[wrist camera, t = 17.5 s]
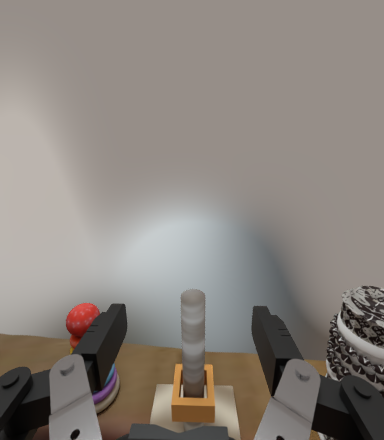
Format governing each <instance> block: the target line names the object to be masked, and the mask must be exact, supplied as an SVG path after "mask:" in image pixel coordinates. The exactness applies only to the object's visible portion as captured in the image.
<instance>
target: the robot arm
mask: <svg viewBox="0 0 384 440" xmlns="http://www.w3.org/2000/svg"><path fill="white" fill-rule="evenodd" d="M126 332H127V317H126V307H125V304H111V306H110V307H109V309H108V310H107V312H102V313H101V314H100V315H98V316H97V317H96V318H95V319H94V320H93V322H92V323H91V325H90V327H89V328H88V329H87V331H86V333H85V334H84V335H83V337H82V338H81V340H80V341H79V343H78V344H77V346H76V347H75V349H74V350H73V352H72V353H71V355H68V356H66V357H64V358H62V359H60V360H59V361H58V362H57V363H56V364H55V365H54V366H53V367H52V369H49V370H46V371H42V372H38V373H35V374H31V371H30V369H29V368H27V367H18V368H15V369H12V370H10V371H8V372H7V373H5V374H4V375H2V376H1V377H0V440H32V438H33V436H34V434H35V433H36V431H37V429H38V428H39V427H42V426H45V425H48V424H49V435H50V440H102V437H101V433H100V428H99V424H98V419H97V415H96V411H95V406H94V402H93V398H92V395H93V392H94V391H102V390H103V387H104V385H105V383H106V380H107V378H108V376H109V373H110V371H111V369H112V366H113V364H114V361H115V359H116V357H117V354H118V352H119V350H120V347H121V345H122V343H123V340H124V338H125V335H126ZM252 336H253V340H254V343H255V346H256V350H257V352H258V356H259V359H260V362H261V366H262V369H263V372H264V375H265V378H266V381H267V385H268V388H269V391H270V394H271V396H272V397H271V398H270V401H269V403H268V405H267V408H266V410H265V413H264V415H263V418H262V420H261V423H260V425H259V428H258V430H257V433H256V436H255V438H254V440H309V437H310V432H311V429H312V430H314V431H317V432H319V433H322V434H324V435H327V436H329V437H332V438H334V439H335V440H384V398H383V397H382V395H381V394H380V393H379V391H378V390H377V389H376V388H375V387H374V386H373V385H372V384H370V383H369V382H367V381H366V380H364V379H362V378H360V377H357V376H354V375H347V376H344V377H343V378H342V381H341V382H340V381H337V380H333V379H330V378H327V377H324V376H322V375H320V374H318V372H317V371H316V369H315V368H314V367H313V366H312V365H310V364H309V363H307V362H306V361H304V359H303V357H302V355H301V354H300V352H299V350H298V348H297V346H296V344H295V342H294V341H293V339H292V337H291V335H290V333H289V331H288V330H287V328H286V326H285V324H284V322H283V321H282V320H281V319H280V318H279V317H278V316H277V315H271V314H270V312H269V310H268V308H267V306H254V307H253V316H252ZM273 396H274V397H273ZM116 440H235V439H234V438H231V437H229V436H228V428H227V427H226V426H201V427H198V428H195V429H191V430H188V431H185V432H181V433H177V432H174V431H171V430H169V429H166V428H163V427H161V426H158V425H156V424H132V425H131V429H130V433H129V434H126V435H124V436H122V437H120V438H118V439H116Z"/></svg>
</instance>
